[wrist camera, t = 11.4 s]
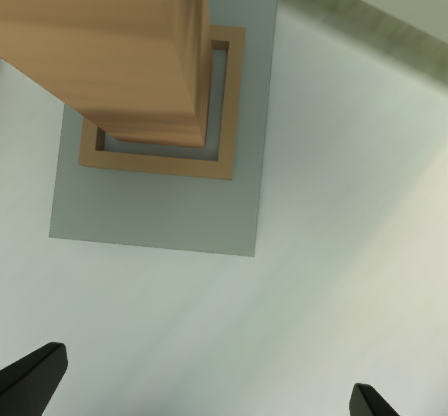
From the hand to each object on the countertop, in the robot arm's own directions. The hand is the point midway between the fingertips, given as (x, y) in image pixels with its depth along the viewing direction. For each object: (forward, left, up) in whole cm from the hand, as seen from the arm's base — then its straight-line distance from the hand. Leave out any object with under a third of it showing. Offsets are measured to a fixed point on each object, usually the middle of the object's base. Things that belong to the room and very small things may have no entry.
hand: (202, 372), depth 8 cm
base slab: (+4, +13, -11) cm, 17 cm away
